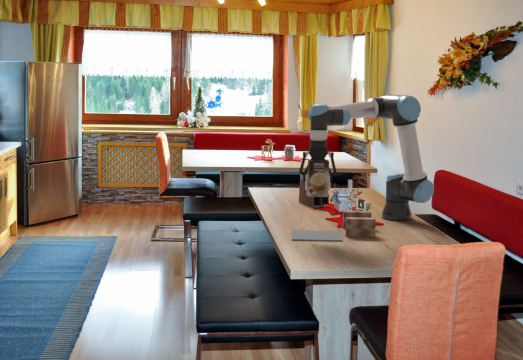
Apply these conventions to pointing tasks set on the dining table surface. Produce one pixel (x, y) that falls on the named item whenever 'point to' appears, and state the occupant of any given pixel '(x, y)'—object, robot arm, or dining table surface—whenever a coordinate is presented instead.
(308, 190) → the coffee box
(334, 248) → the dining table surface
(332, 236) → the rubber mat
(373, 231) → the packet holder
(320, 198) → the letter holder
